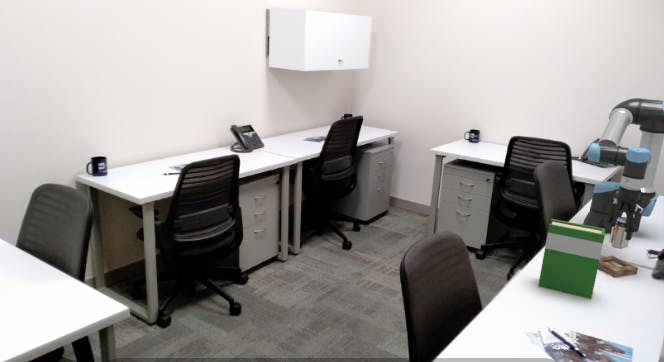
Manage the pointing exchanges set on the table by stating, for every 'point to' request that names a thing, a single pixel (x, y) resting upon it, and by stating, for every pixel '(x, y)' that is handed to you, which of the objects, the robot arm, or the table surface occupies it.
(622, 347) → the table surface
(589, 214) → the robot arm
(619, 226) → the beer can
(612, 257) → the picture frame
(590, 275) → the hardback book
